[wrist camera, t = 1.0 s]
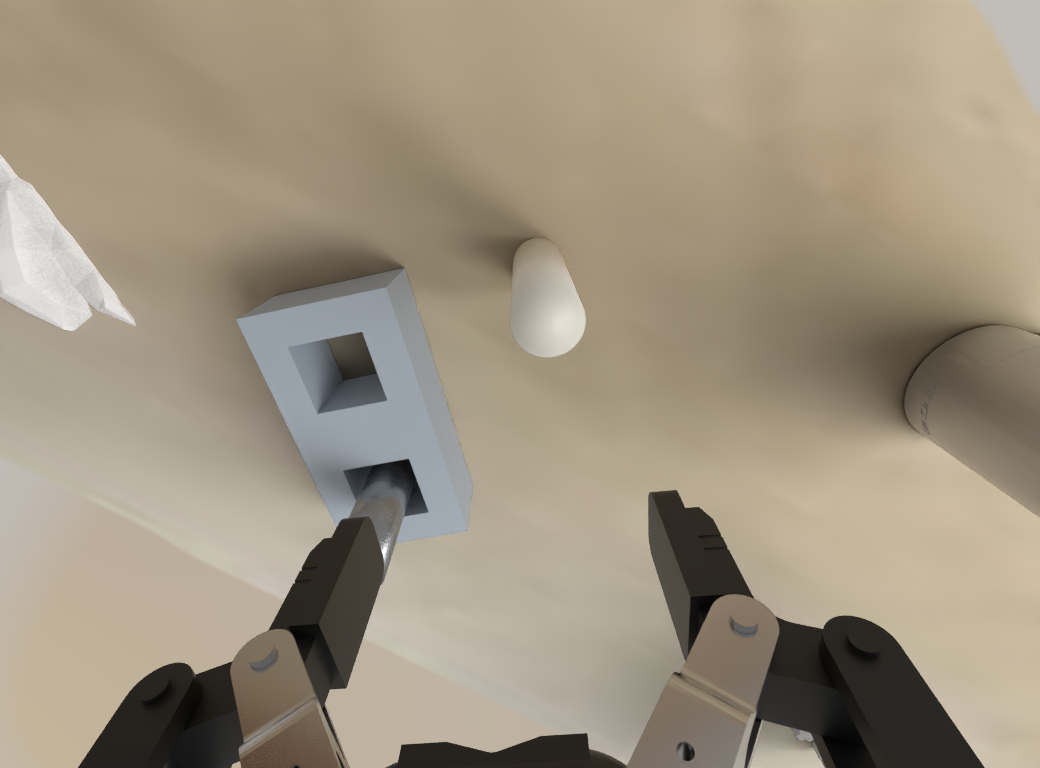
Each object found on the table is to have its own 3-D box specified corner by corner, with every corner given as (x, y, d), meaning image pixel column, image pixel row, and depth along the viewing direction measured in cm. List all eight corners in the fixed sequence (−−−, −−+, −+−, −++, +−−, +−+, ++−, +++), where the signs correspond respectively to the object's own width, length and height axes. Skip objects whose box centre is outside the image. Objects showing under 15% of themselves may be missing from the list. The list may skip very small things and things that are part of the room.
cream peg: (557, 233, 31) (579, 278, 20) (566, 282, 32) (590, 349, 21) (508, 243, 31) (502, 294, 20) (518, 292, 32) (519, 363, 21)
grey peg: (416, 430, 37) (373, 546, 26) (428, 464, 38) (392, 588, 27) (376, 437, 37) (317, 555, 26) (389, 471, 38) (338, 596, 28)
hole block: (404, 267, 32) (385, 287, 27) (473, 487, 39) (467, 531, 35) (275, 295, 32) (235, 319, 28) (366, 505, 40) (347, 550, 35)
